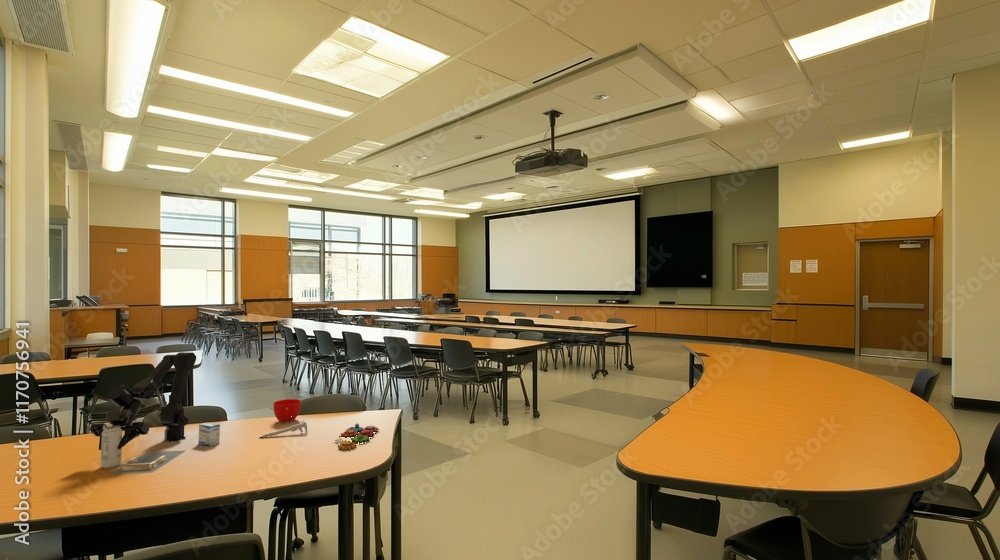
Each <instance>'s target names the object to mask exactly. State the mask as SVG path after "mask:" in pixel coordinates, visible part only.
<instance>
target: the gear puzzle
mask: <svg viewBox="0 0 1000 560" xmlns="http://www.w3.org/2000/svg"><path fill="white" fill-rule="evenodd" d="M377 430H379V431H380V428H378V427H377V426H375V425H367V426H365V427H362V426H360V424H359V423H355V425H354V426H351V427H349V428H347V429H346V430H345V431H343V432H342V433H340V435H341V437H345V438H347V437H350V438H351V437H354V438H351V440H352V442H350V441H346V440H345V441H343V440H342V439H341V438H340V437H339V438H340V439H339V438H338V439H334V440H335V441H336V442H334V443H340V445H338V444H337V447H336V448H338V450H351V449H355V448H357V447H356V446H358V445H356V444H358V442H359V443H362V442H363V443H365V442H367V443H368V441H367V440H369V437H372V438H373V436H372V435H374V433H373V432H378V431H377ZM358 432H359V433H358ZM356 435H357V436H356ZM374 436H375V435H374ZM341 440H342V441H341ZM369 441H370V440H369Z"/></svg>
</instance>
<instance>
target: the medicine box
mask: <svg viewBox="0 0 1000 560" xmlns="http://www.w3.org/2000/svg"><path fill="white" fill-rule="evenodd" d="M220 435H221V424H219V423H213V422H204V423H201V424H198V445H200V444H202V445H201V446H206V445H208V447H212V445H213V446H216V445H219V444H220V441H221V440H220V439H221V438H220V437H221V436H220ZM215 444H216V445H215Z"/></svg>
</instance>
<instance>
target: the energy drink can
mask: <svg viewBox="0 0 1000 560" xmlns="http://www.w3.org/2000/svg"><path fill="white" fill-rule="evenodd" d="M122 438H123V431H122V429H121V428H120V426H112V425H109V427H106V428H104V431H103V432H102V442H101V450H100V467H101V468H102V469H104V470H105V469H113V468H117V467H118V466H119V467H120V465H121V464H122V455H123V454H122V450H123V449H122V448H123V447H122V448H121V449H117V448H118V445H119V443H120V441H121V439H122Z"/></svg>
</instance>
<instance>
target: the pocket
mask: <svg viewBox="0 0 1000 560" xmlns="http://www.w3.org/2000/svg"><path fill="white" fill-rule="evenodd" d="M138 457H139V456H134V457H132V458H131V459H128V460H127V461H124V462H123V463H120V464H119V468H120V471H123V470H143V469H153V468H155V467H156V466H158V465H159V464H161V463H162V462H164V461H166V455H164V456H161V457H160V458H158V459H156V460H155V461H153V462H152V463H138V464H135V463H137V462H138Z"/></svg>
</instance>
